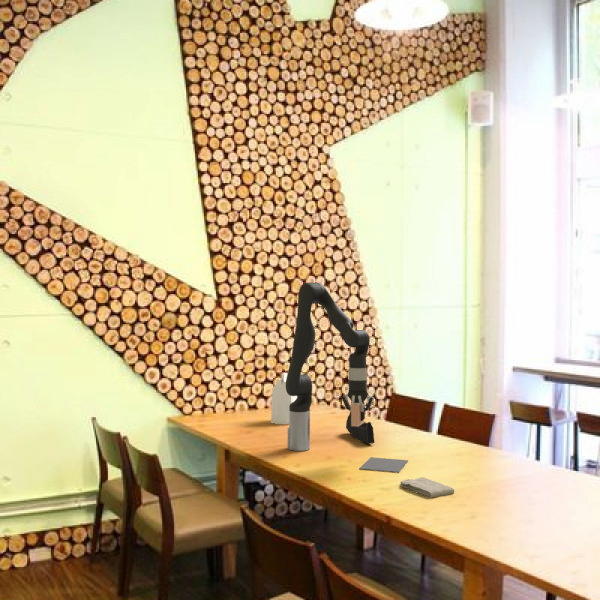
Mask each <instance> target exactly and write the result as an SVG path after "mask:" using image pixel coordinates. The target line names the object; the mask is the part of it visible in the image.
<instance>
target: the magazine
mask: <svg viewBox="0 0 600 600" xmlns="http://www.w3.org/2000/svg"><path fill="white" fill-rule="evenodd" d="M345 429H346V430H347V432H348V433H349V434H350V435H351V436H352V437H353V438H354V437H355V438H357V439H358V440H357V439H356V440H357V441H359V440H360V441H359V442H361V441H362V442H361V443H365V444H369V445H371V444H374V443H375V433H374V427H373V425H372V422H371V421H368V422H365V421H364V423H363V424H362V425H360V426H359V427H357V426H351V411H349V414H348V415H347V419H346V424H345ZM355 438H354V439H355Z"/></svg>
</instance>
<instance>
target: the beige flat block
mask: <svg viewBox="0 0 600 600" xmlns="http://www.w3.org/2000/svg"><path fill="white" fill-rule="evenodd" d="M350 407H351V411H350V412H351V426H357V427H359V426H360V425H362V424H363V423H364V422H365V419H364V420H363V421H361V408H360V403H352V404H351V403H350Z"/></svg>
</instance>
